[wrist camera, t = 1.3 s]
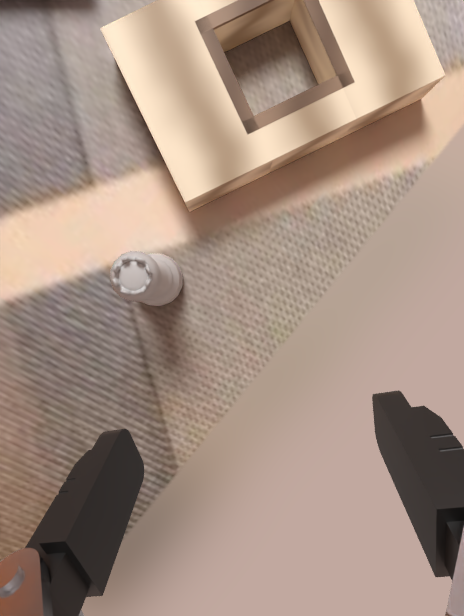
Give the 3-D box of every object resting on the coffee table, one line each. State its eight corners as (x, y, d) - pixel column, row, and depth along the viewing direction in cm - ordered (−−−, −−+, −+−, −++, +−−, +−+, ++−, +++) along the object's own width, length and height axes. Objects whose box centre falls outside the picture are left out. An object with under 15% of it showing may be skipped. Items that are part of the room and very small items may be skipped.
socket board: (189, 212, 28) (185, 202, 25) (114, 57, 27) (100, 28, 24) (421, 98, 28) (445, 75, 25) (353, -60, 27) (369, -104, 24)
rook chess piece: (179, 250, 28) (161, 233, 20) (187, 301, 28) (173, 305, 20) (127, 258, 28) (88, 245, 20) (136, 309, 28) (101, 317, 20)
